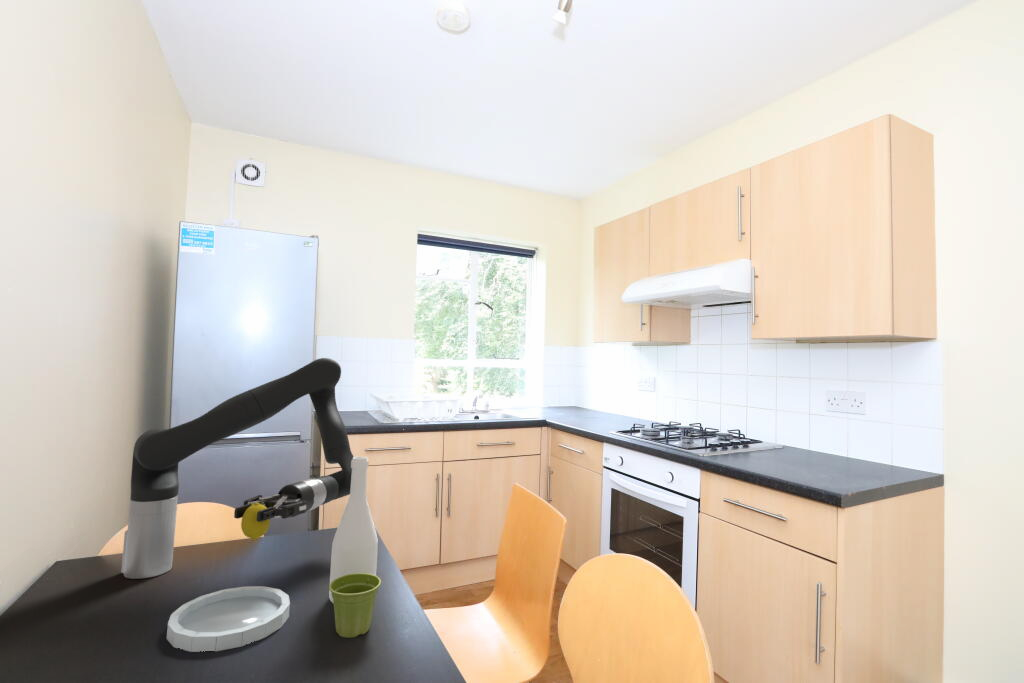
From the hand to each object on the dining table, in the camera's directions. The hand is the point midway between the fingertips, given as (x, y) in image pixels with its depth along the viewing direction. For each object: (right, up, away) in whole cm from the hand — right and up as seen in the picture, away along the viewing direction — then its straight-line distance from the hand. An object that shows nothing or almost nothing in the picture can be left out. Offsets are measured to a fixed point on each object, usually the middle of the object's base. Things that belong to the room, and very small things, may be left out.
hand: (247, 515), depth 103 cm
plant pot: (+26, -18, -11) cm, 33 cm away
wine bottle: (+22, -19, +2) cm, 29 cm away
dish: (+2, -17, -10) cm, 20 cm away
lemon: (+1, -6, +2) cm, 7 cm away
